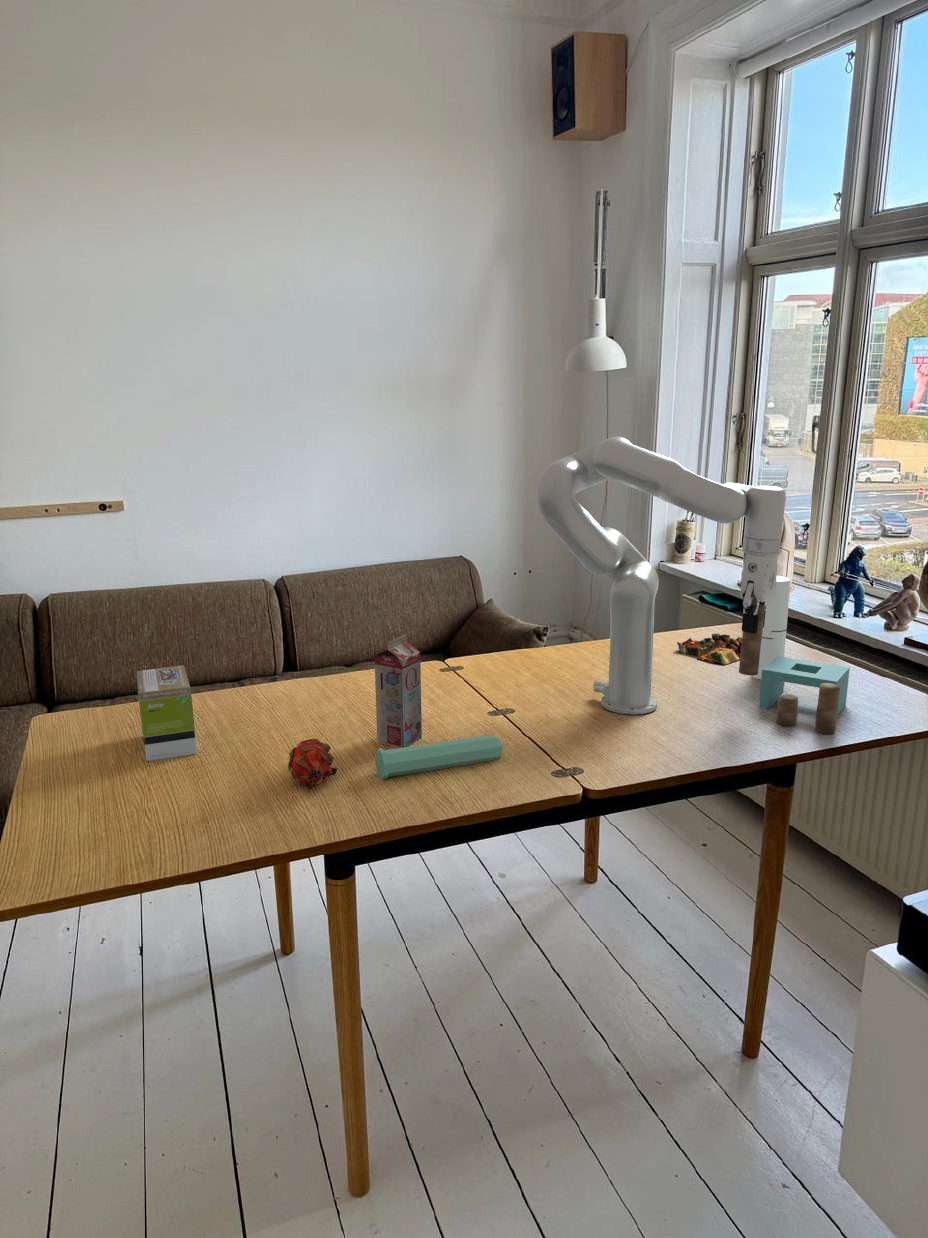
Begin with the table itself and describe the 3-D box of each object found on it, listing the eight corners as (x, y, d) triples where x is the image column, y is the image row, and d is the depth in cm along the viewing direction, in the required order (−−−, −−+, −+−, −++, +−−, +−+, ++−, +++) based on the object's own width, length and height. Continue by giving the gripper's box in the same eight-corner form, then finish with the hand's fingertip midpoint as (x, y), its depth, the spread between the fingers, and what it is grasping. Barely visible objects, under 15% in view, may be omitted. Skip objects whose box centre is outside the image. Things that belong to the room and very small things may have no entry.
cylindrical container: (786, 681, 227) (794, 581, 221) (756, 681, 227) (764, 581, 221) (777, 672, 234) (785, 575, 228) (748, 672, 234) (756, 575, 228)
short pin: (774, 724, 199) (776, 698, 198) (779, 719, 202) (781, 693, 201) (793, 728, 197) (795, 701, 195) (798, 722, 200) (800, 696, 199)
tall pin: (736, 673, 201) (743, 606, 197) (742, 668, 204) (748, 602, 200) (754, 676, 199) (761, 609, 195) (760, 672, 202) (767, 605, 198)
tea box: (142, 736, 196) (135, 669, 192) (191, 729, 199) (185, 663, 195) (145, 762, 182) (137, 691, 178) (198, 755, 185) (192, 685, 182)
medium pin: (812, 732, 195) (817, 687, 192) (817, 726, 198) (822, 681, 195) (832, 736, 193) (837, 690, 190) (837, 730, 196) (842, 685, 193)
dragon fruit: (312, 774, 180) (320, 809, 169) (275, 756, 176) (280, 790, 165) (337, 740, 178) (347, 773, 168) (300, 721, 175) (307, 754, 164)
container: (497, 725, 184) (376, 742, 174) (509, 745, 179) (385, 764, 170) (492, 747, 187) (373, 765, 178) (503, 767, 183) (382, 787, 173)
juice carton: (421, 738, 193) (419, 636, 188) (403, 748, 188) (401, 644, 182) (395, 732, 196) (392, 632, 191) (377, 742, 191) (373, 639, 185)
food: (715, 638, 266) (716, 626, 265) (773, 654, 252) (774, 641, 251) (667, 653, 252) (668, 641, 251) (726, 670, 238) (727, 657, 237)
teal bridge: (759, 707, 210) (762, 669, 207) (774, 692, 219) (777, 656, 217) (832, 721, 201) (836, 681, 199) (845, 705, 210) (849, 667, 208)
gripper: (767, 553, 186) (758, 641, 190) (790, 542, 199) (781, 624, 204) (730, 549, 190) (722, 635, 194) (755, 538, 203) (747, 619, 208)
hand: (752, 628), depth 199 cm, fingers closed on tall pin, 4 cm apart
